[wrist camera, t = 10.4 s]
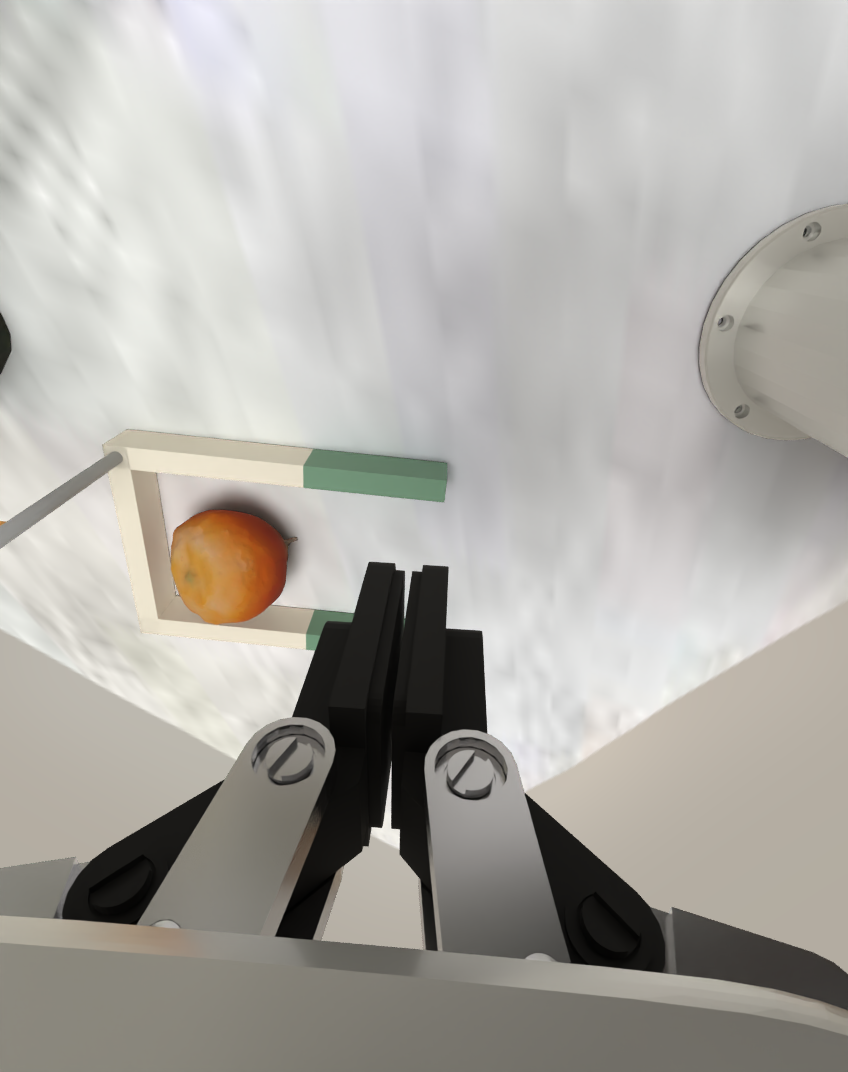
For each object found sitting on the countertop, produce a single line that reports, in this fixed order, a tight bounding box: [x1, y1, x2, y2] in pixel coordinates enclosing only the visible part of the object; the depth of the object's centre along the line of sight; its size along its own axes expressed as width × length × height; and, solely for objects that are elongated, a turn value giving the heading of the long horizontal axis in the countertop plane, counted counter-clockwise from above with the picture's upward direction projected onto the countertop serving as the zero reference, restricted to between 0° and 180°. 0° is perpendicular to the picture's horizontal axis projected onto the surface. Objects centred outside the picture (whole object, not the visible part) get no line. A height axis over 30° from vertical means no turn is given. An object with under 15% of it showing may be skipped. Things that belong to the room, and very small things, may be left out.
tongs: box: [0, 429, 447, 650], centre depth 34 cm, size 26×15×15 cm, turn 85°
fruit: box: [171, 510, 297, 625], centre depth 38 cm, size 8×8×8 cm
